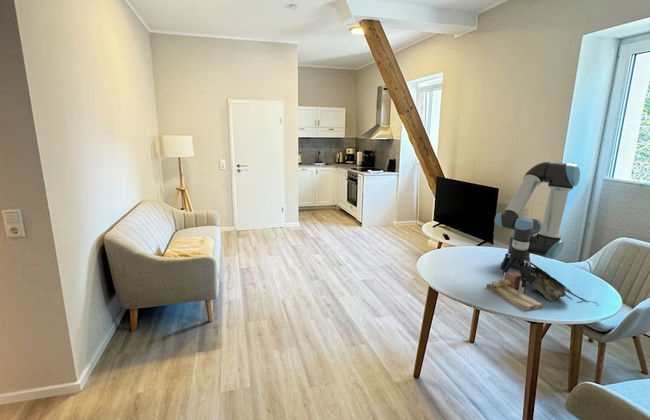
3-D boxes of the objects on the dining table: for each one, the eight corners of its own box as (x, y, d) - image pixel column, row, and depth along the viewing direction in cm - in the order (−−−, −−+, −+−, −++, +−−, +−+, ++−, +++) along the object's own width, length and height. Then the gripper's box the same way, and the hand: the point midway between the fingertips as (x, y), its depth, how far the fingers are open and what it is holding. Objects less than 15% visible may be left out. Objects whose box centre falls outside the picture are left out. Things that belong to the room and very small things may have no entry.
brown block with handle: (513, 285, 182) (515, 271, 180) (520, 289, 177) (523, 275, 175) (488, 289, 176) (490, 274, 175) (495, 293, 172) (498, 278, 170)
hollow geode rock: (525, 286, 192) (509, 267, 190) (545, 273, 189) (528, 253, 188) (553, 310, 164) (534, 288, 163) (576, 295, 162) (558, 272, 160)
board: (501, 285, 181) (501, 281, 180) (541, 307, 159) (542, 303, 158) (486, 287, 178) (486, 284, 177) (525, 310, 156) (526, 306, 155)
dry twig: (545, 284, 186) (545, 281, 185) (562, 284, 186) (563, 281, 186) (580, 306, 162) (581, 303, 162) (600, 306, 163) (601, 303, 163)
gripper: (497, 241, 182) (490, 279, 187) (533, 256, 162) (525, 298, 167) (507, 240, 184) (501, 278, 190) (545, 255, 164) (536, 296, 169)
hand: (512, 287), depth 178 cm, fingers open, 10 cm apart
